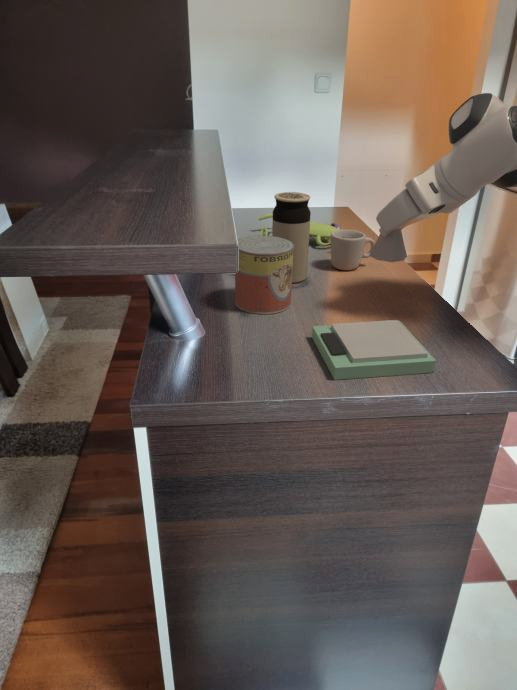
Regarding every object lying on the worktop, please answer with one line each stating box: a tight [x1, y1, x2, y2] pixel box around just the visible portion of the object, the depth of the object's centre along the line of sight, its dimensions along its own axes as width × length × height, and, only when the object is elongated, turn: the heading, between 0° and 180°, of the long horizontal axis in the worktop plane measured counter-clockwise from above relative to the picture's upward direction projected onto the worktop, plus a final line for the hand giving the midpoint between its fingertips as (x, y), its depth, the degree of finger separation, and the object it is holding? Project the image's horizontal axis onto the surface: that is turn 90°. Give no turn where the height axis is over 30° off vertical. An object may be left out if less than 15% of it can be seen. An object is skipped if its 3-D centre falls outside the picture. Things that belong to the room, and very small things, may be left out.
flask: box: [369, 228, 408, 263], centre depth 102 cm, size 7×7×10 cm
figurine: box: [258, 212, 342, 247], centre depth 138 cm, size 18×27×6 cm
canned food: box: [234, 235, 294, 315], centre depth 100 cm, size 11×11×12 cm
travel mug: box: [271, 191, 312, 284], centre depth 111 cm, size 8×8×18 cm
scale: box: [311, 319, 437, 381], centre depth 84 cm, size 16×14×3 cm
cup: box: [330, 229, 376, 271], centre depth 120 cm, size 11×8×8 cm
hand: (388, 230), depth 102 cm, fingers closed on flask, 3 cm apart
